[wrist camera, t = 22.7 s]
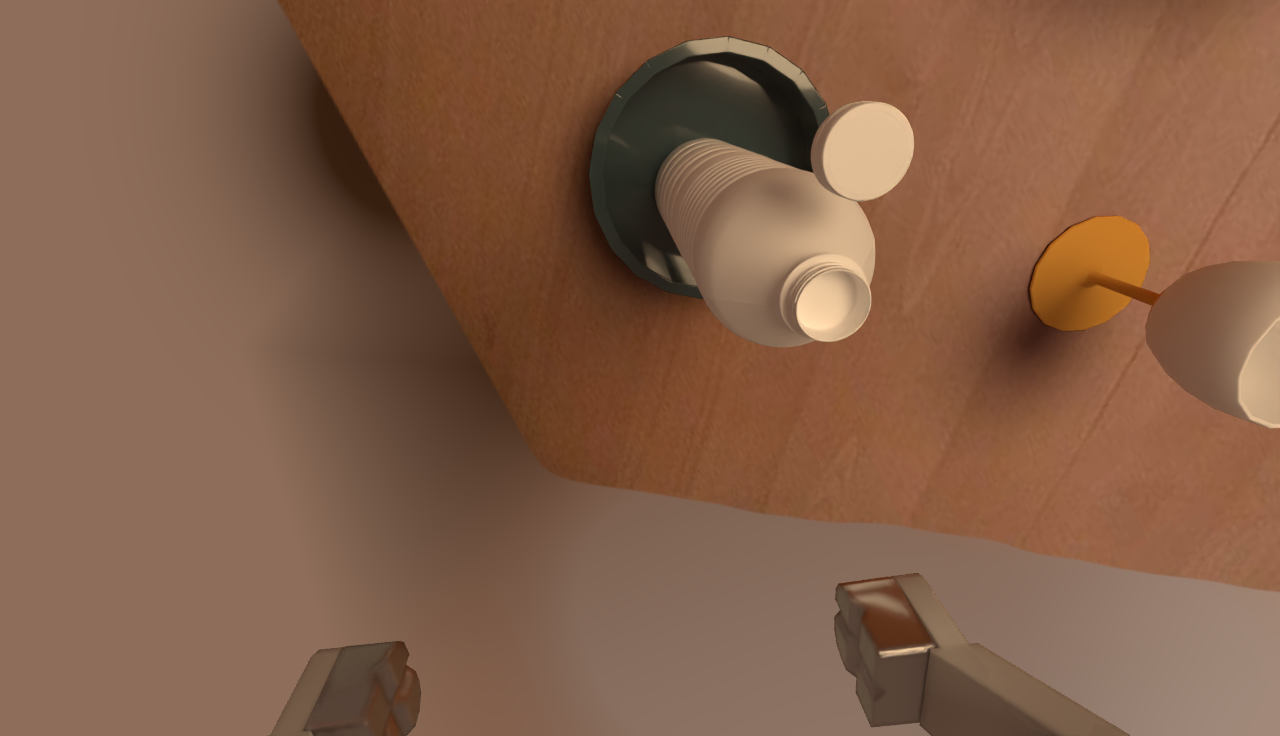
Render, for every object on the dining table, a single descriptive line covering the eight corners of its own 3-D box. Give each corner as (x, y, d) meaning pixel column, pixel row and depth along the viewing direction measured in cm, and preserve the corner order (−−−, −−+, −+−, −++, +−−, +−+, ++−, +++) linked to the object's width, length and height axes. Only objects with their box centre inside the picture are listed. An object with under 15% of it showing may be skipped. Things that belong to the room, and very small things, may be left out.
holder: (606, 288, 43) (607, 311, 39) (575, 59, 37) (572, 54, 33) (809, 264, 44) (833, 283, 39) (812, 32, 37) (841, 22, 33)
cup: (1062, 205, 43) (1300, 260, 28) (1171, 225, 44) (1453, 289, 29) (1008, 321, 46) (1195, 424, 32) (1110, 338, 48) (1336, 444, 33)
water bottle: (742, 240, 41) (914, 410, 19) (650, 234, 41) (711, 403, 18) (761, 103, 38) (1001, 111, 15) (660, 96, 37) (753, 91, 15)
